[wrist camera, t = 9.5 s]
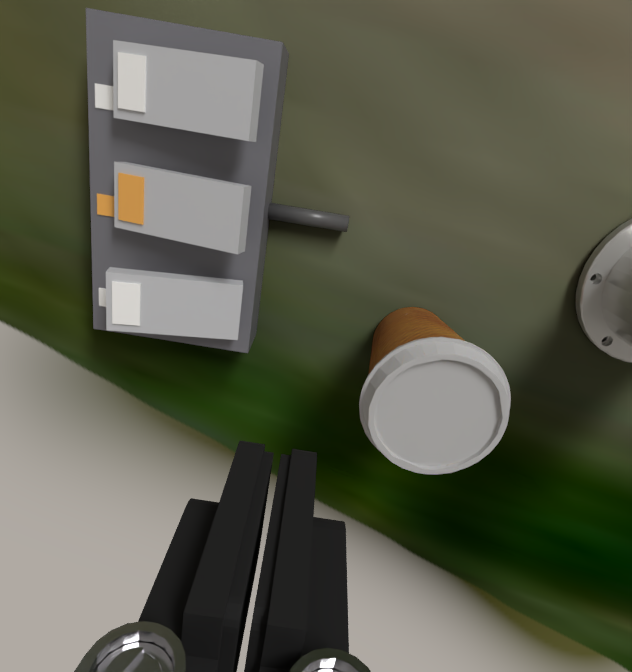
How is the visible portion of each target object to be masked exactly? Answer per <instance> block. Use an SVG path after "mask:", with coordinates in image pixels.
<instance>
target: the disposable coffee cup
mask: <svg viewBox="0 0 632 672" xmlns="http://www.w3.org/2000/svg"><path fill="white" fill-rule="evenodd" d="M510 402H511V395H510V387H509V383H508V380H507V377H506V375H505V373H504V372H503V370H502V368H501V367H500V365H499V364H498V363H497V362H496V360H495V359H494V358H493V357H492V356H490V355H489V354H488V353H487V352H486V351H484V350H483V349H481V348H479V347H477V346H476V345H474V344H472V343H469V342H466V341H465V340H463V339H462V338H461V337H460V336H459V335H458V334H457V333H455V332H454V331H453V330H452V329H451V328H450V327H449V326H447V325H446V324H445V323H444V322H443V321H442V320H440V319H439V318H438V317H437V316H436V315H435V314H433V313H432V312H430V311H428V310H426V309H423V308H418V307H407V308H402V309H398V310H396V311H394V312H392V313H390V314H389V315H387V316H386V317H385V318H384V319H383V320H382V321H381V322H380V323H379V325H378V326H377V328H376V330H375V332H374V336H373V343H372V351H371V358H370V367H369V374H368V377H367V379H366V381H365V383H364V385H363V388H362V391H361V395H360V402H359V410H360V420H361V423H362V426H363V428H364V431H365V433H366V435H367V437H368V438H369V440H370V441H371V443H372V444H373V445H374V446H375V447H376V448H377V449H378V450H379V451H380V452H381V453H382V454H383V455H384V456H385V457H386V458H388V459H389V460H390V461H391V462H393V463H394V464H396V465H398V466H400V467H402V468H403V469H406V470H410V471H413V472H416V473H422V474H445V473H452V472H455V471H458V470H461V469H464V468H467V467H469V466H471V465H473V464H475V463H477V462H479V461H480V460H481V459H483V458H484V457H485V456H486V455H488V454H489V453H490V452H491V451H492V450H493V449H494V448H495V446H496V445H497V444H498V443H499V441H500V440H501V438H502V436H503V434H504V432H505V429H506V427H507V424H508V419H509V410H510Z"/></svg>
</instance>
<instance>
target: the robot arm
mask: <svg viewBox="0 0 632 672" xmlns="http://www.w3.org/2000/svg"><path fill="white" fill-rule="evenodd" d="M592 275H593V277H592ZM591 277H592V278H591ZM576 312H577V317H578V321H579V323H580V325H581V328H582V330H583V332H584V333H585V334H586V336H587V337H588V338H589V340H590V341H591V342H592V343H593V344H594V345H596V346H597V347H598V348H599V349H600V350H602V351H603V352H605V353H607V354H608V355H610V356H611V357H614V358H616V359H619V360H622V361H624V362H630V363H632V218H631V219H630V220H628V221H626V222H625V223H623V224H621V225H620V226H619V227H617V228H616V229H615V230H614V231H612V232H611V233H610V234H609V235H607V236H606V237H605V239H604V240H603V241H602V242H601V243H600V244H599V245H598V246H597V247H596V248H595V250H594V251H593V253H592V254H591V256H590V257H589V259H588V260H587V262H586V264H585V266H584V268H583V271H582V273H581V275H580V277H579V281H578V286H577V290H576ZM264 450H265V444H258V443H252V442H245V441H240V442H239V444H238V447H237V450H236V453H235V456H234V459H233V462H232V465H231V468H230V472H229V475H228V478H227V481H226V484H225V487H224V490H223V493H222V496H221V499H220V502H219V503H217V502H211V501H204V500H198V499H190V500H189V501H188V504H187V506H186V508H185V510H184V513H183V515H182V517H181V520H180V522H179V525H178V527H177V529H176V532H175V534H174V537H173V539H172V541H171V544H170V546H169V549H168V551H167V553H166V556H165V558H164V561H163V563H162V565H161V568H160V570H159V573H158V575H157V578H156V580H155V582H154V585H153V587H152V590H151V592H150V594H149V597H148V599H147V602H146V604H145V606H144V609H143V611H142V614H141V616H140V618H139V621H138V622H134V623H127V624H125V625H123V626H120V627H118V628H116V629H113V630H111V631H110V632H108V633H107V634H106V635H104V636H103V637H102V638H100V639H99V640H98V641H97V642H96V643H95V644H94V645H93V646H92V648H91V649H90V650H89V651H88V652H87V653H86V655H85V656H84V657H83V659H82V661H81V663H80V664H79V665H78V667H77V668H76V670H75V671H74V672H236V671H237V666H238V661H239V656H240V650H241V645H242V640H243V634H244V629H245V624H246V617H247V613H248V608H249V603H250V597H251V592H252V586H253V581H254V576H255V571H256V565H257V560H258V554H259V548H260V541H261V535H262V528H263V521H264V515H265V514H264V513H265V508H266V501H267V494H268V488H269V487H268V486H269V481H270V474H271V467H272V461H273V453H271V452H265V451H264ZM316 464H317V453H316V452H310V451H303V450H297V449H292V454H291V455H284V454H281V459H280V465H279V471H278V476H277V482H276V488H275V494H274V499H273V505H272V510H271V516H270V522H269V528H268V533H267V539H266V545H265V550H264V556H263V562H262V567H261V573H260V578H259V584H258V590H257V595H256V601H255V607H254V613H253V619H252V625H251V631H250V637H249V644H248V651H247V657H246V664H245V670H244V672H370V670H369V668H368V667H367V666H366V665H365V664H363V663H362V662H361V661H360V660H359V659H358V658H357V657H355V656H353V655H351V654H349V643H348V605H347V604H348V602H347V565H346V564H347V563H346V528H345V522H343V521H336V520H330V519H323V518H316V517H313V514H314V497H315V481H316Z"/></svg>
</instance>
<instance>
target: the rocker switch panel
mask: <svg viewBox="0 0 632 672" xmlns="http://www.w3.org/2000/svg"><path fill="white" fill-rule="evenodd" d="M86 35H87V77H88V119H89V161H90V202H91V244H92V286H93V328H94V329H99V330H105V331H108V330H106V271H107V270H108V269H109V267H115V268H125V269H134V270H144V271H154V272H164V273H174V274H184V275H194V276H203V277H213V278H223V279H233V280H243V293H242V303H241V312H240V322H239V332H238V340H229V339H215V338H202V337H189V336H175V335H162V334H148V333H135V332H122V331H112V332H118V333H124V334H131V335H137V336H143V337H149V338H156V339H162V340H168V341H175V342H181V343H187V344H193V345H200V346H206V347H212V348H219V349H225V350H231V351H237V352H244V353H248V352H249V350H250V347H251V345H252V343H253V340H254V338H255V335H256V330H257V322H258V313H259V305H260V296H261V288H262V279H263V271H264V262H265V254H266V245H267V237H268V228H269V220H270V219H271V220H277V221H283V222H289V223H295V224H301V225H307V226H313V227H319V228H325V229H331V230H337V231H343V232H347V228H348V222H349V216H347V215H341V214H335V213H329V212H323V211H317V210H311V209H305V208H299V207H293V206H287V205H281V204H275V203H272V194H273V186H274V177H275V169H276V160H277V151H278V143H279V134H280V126H281V117H282V109H283V100H284V92H285V83H286V75H287V66H288V58H289V53H288V51H287V49H286V47H285V45H284V43H283V42H279V41H273V40H267V39H262V38H256V37H250V36H244V35H239V34H233V33H227V32H221V31H216V30H210V29H204V28H198V27H193V26H187V25H181V24H175V23H170V22H164V21H158V20H152V19H147V18H141V17H135V16H129V15H124V14H118V13H112V12H107V11H101V10H95V9H89V8H86ZM113 40H117V41H124V42H131V43H138V44H145V45H152V46H159V47H166V48H173V49H180V50H187V51H195V52H202V53H209V54H216V55H223V56H230V57H237V58H244V59H251V60H257V61H259V62H260V63H262V64H264V68H263V78H262V88H261V98H260V108H259V118H258V128H257V138H256V142H252V141H245V140H239V139H233V138H228V137H222V136H216V135H210V134H205V133H199V132H193V131H187V130H182V129H176V128H170V127H164V126H159V125H153V124H147V123H141V122H136V121H130V120H124V119H118V118H114V111H113ZM114 162H129V163H134V164H140V165H145V166H150V167H155V168H160V169H166V170H171V171H176V172H181V173H186V174H192V175H197V176H202V177H207V178H212V179H218V180H223V181H228V182H233V183H239V184H244V185H249V186H251V196H250V206H249V216H248V226H247V236H246V246H245V251H244V252H242V253H240V254H234V253H229V252H225V251H220V250H216V249H211V248H206V247H202V246H197V245H193V244H188V243H184V242H179V241H175V240H170V239H166V238H161V237H157V236H152V235H148V234H143V233H139V232H134V231H130V230H125V229H121V228H116V227H114Z"/></svg>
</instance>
